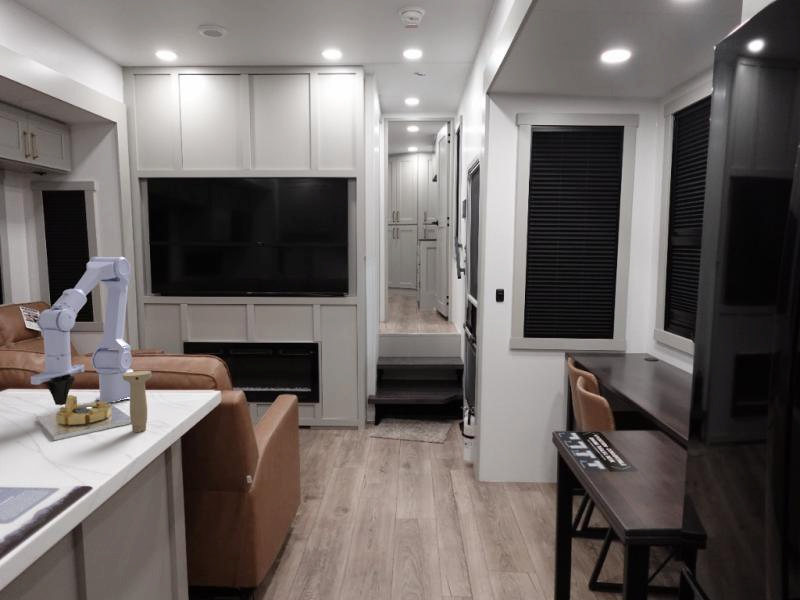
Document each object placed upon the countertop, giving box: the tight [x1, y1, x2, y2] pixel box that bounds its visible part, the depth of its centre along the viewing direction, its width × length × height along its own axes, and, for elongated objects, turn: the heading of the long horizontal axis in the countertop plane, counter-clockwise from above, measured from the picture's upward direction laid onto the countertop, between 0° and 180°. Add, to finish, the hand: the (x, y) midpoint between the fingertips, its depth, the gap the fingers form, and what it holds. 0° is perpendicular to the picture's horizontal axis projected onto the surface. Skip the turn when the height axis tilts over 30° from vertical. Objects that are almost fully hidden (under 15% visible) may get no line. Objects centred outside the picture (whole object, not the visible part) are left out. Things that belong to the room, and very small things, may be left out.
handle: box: [123, 370, 152, 433], centre depth 128 cm, size 5×6×15 cm
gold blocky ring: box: [55, 394, 112, 425], centre depth 135 cm, size 14×12×5 cm
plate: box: [35, 403, 131, 441], centre depth 134 cm, size 18×20×4 cm
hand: (60, 404), depth 134 cm, fingers closed
